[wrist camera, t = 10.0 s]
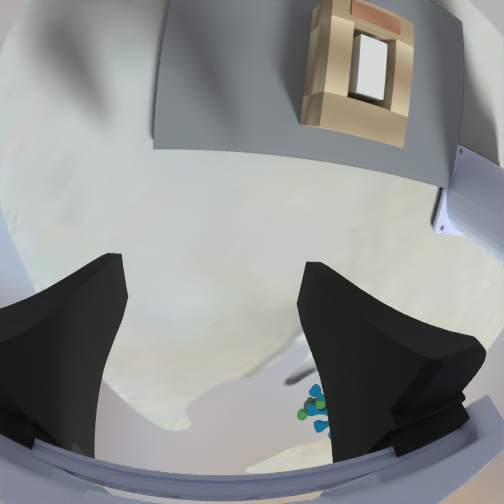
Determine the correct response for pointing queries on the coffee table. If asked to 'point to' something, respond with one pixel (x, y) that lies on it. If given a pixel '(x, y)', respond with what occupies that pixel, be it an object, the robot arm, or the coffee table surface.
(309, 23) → the board
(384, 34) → the open rectangular tan frame
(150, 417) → the coffee table surface
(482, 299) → the coffee table surface
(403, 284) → the coffee table surface
